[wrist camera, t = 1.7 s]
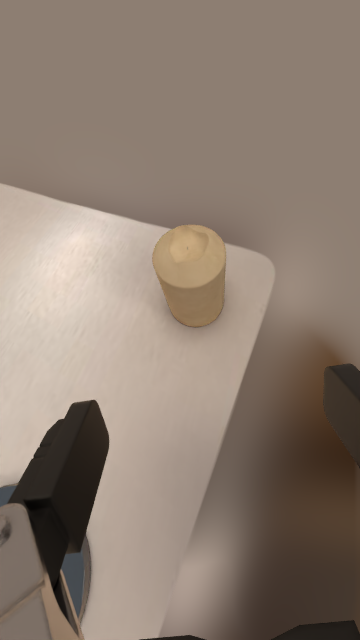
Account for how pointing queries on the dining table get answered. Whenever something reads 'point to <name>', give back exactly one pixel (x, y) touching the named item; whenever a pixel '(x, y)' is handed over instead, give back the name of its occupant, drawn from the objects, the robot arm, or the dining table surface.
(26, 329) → the dining table surface
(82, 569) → the saucer
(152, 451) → the dining table surface
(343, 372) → the robot arm
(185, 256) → the candle
